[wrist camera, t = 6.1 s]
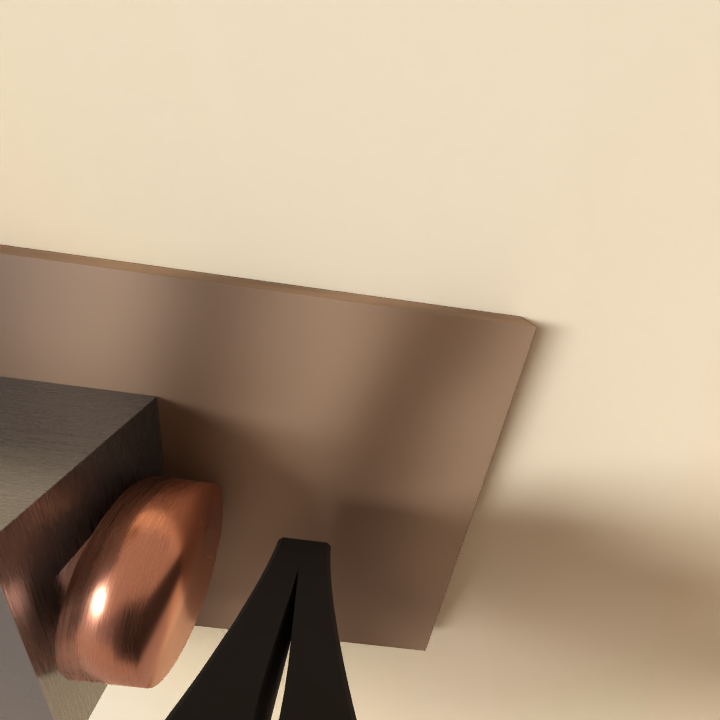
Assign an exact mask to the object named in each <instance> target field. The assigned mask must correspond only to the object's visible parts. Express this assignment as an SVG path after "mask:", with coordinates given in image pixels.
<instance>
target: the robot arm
mask: <svg viewBox="0 0 720 720" xmlns="http://www.w3.org/2000/svg"><path fill="white" fill-rule="evenodd" d="M330 552H331V546H330V545H329V544H328V543H327V542H319V541H310V540H302V539H294V538H285V537H282V538H281V539H279V540H278V542H277V545H276V547H275V549H274V552H273V554H272V556H271V558H270V560H269V562H268V564H267V566H266V568H265V570H264V572H263V573H262V575H261V577H260V579H259V581H258V582H257V584H256V586H255V588H254V590H253V591H252V593H251V595H250V596H249V598H248V599H247V601H246V603H245V604H244V606H243V608H242V609H241V611H240V613H239V614H238V616H237V618H236V619H235V621H234V622H233V624H232V626H231V627H230V629H229V630H228V632H227V633H226V635H225V636H224V638H223V639H222V641H221V642H220V644H219V645H218V647H217V648H216V650H215V651H214V653H213V654H212V656H211V657H210V658H209V660H208V661H207V663H206V664H205V666H204V667H203V669H202V670H201V672H200V673H199V674H198V676H197V677H196V679H195V680H194V681H193V683H192V684H191V685H190V687H189V688H188V690H187V691H186V692H185V694H184V695H183V696H182V698H181V699H180V700H179V702H178V703H177V704H176V706H175V707H174V708H173V710H172V711H171V712H170V714H169V715H168V716H167V718H166V719H165V720H271V717H272V713H273V709H274V705H275V701H276V697H277V693H278V689H279V685H280V681H281V677H282V674H283V670H284V666H285V662H286V658H287V654H288V650H289V646H290V654H289V663H288V670H287V677H286V684H285V691H284V696H283V702H282V707H281V712H280V717H279V720H357V719H356V715H355V711H354V707H353V703H352V699H351V694H350V690H349V686H348V681H347V676H346V672H345V667H344V662H343V657H342V652H341V647H340V641H339V635H338V629H337V623H336V616H335V610H334V602H333V593H332V583H331V567H330ZM290 642H291V645H290Z"/></svg>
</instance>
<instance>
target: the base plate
mask: <svg viewBox="0 0 720 720" xmlns="http://www.w3.org/2000/svg"><path fill="white" fill-rule="evenodd" d="M536 328H537V327H535V326H534V325H532V324H531V323H530V322H528V321H527V320H525V319H524V318H522V317H519V316H512V315H505V314H498V313H490V312H483V311H476V310H469V309H461V308H454V307H447V306H440V305H432V304H425V303H418V302H411V301H404V300H396V299H389V298H382V297H375V296H367V295H360V294H353V293H346V292H338V291H331V290H324V289H317V288H310V287H302V286H295V285H288V284H281V283H273V282H266V281H259V280H252V279H244V278H237V277H230V276H223V275H216V274H208V273H201V272H194V271H187V270H179V269H172V268H165V267H158V266H150V265H143V264H136V263H129V262H122V261H114V260H107V259H100V258H93V257H85V256H78V255H71V254H64V253H56V252H49V251H42V250H35V249H28V248H20V247H13V246H6V245H0V376H3V377H10V378H18V379H26V380H34V381H42V382H50V383H57V384H65V385H73V386H81V387H89V388H97V389H104V390H112V391H120V392H128V393H136V394H144V395H151V396H157V401H158V411H159V420H160V430H161V440H162V449H163V459H164V468H165V477H168V478H176V479H184V480H192V481H201V482H209V483H214V484H216V485H217V486H218V487H219V489H220V491H221V495H222V501H223V518H222V529H221V536H220V542H219V547H218V552H217V557H216V561H215V565H214V569H213V573H212V576H211V580H210V583H209V586H208V590H207V593H206V596H205V599H204V601H203V604H202V607H201V610H200V612H199V615H198V617H197V620H196V622H195V626H204V627H213V628H223V629H230V627H231V626H232V624H233V622H234V621H235V619H236V618H237V616H238V614H239V613H240V611H241V609H242V608H243V606H244V604H245V603H246V601H247V599H248V598H249V596H250V595H251V593H252V591H253V590H254V588H255V586H256V584H257V582H258V581H259V579H260V577H261V575H262V573H263V572H264V570H265V568H266V566H267V564H268V562H269V560H270V558H271V556H272V554H273V552H274V549H275V547H276V545H277V542H278V540H279V539H281V538H282V537H285V538H294V539H302V540H310V541H319V542H327V543H328V544H329V545H330V546H331V552H330V567H331V583H332V593H333V602H334V610H335V616H336V623H337V629H338V635H339V641H341V642H351V643H360V644H369V645H378V646H387V647H396V648H405V649H415V650H424V651H425V650H426V647H427V644H428V642H429V639H430V636H431V633H432V630H433V627H434V624H435V621H436V618H437V615H438V612H439V610H440V607H441V604H442V601H443V598H444V595H445V592H446V589H447V586H448V583H449V581H450V578H451V575H452V572H453V569H454V566H455V563H456V560H457V557H458V554H459V552H460V549H461V546H462V543H463V540H464V537H465V534H466V531H467V528H468V525H469V522H470V520H471V517H472V514H473V511H474V508H475V505H476V502H477V499H478V496H479V493H480V491H481V488H482V485H483V482H484V479H485V476H486V473H487V470H488V467H489V464H490V461H491V459H492V456H493V453H494V450H495V447H496V444H497V441H498V438H499V435H500V432H501V430H502V427H503V424H504V421H505V418H506V415H507V412H508V409H509V406H510V403H511V401H512V398H513V395H514V392H515V389H516V386H517V383H518V380H519V377H520V374H521V371H522V369H523V366H524V363H525V360H526V357H527V354H528V351H529V348H530V345H531V342H532V340H533V337H534V334H535V331H536Z"/></svg>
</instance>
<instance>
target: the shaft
mask: <svg viewBox="0 0 720 720" xmlns="http://www.w3.org/2000/svg"><path fill="white" fill-rule="evenodd" d="M222 518H223V501H222V495H221V491H220V489H219V487H218V486H217V485H216V484H214V483H209V482H201V481H192V480H184V479H176V478H168V477H159V476H150V477H146V478H143V479H141V480H139V481H138V482H136V483H135V484H133V485H132V486H131V487H129V488H128V489H127V490H126V491H125V492H124V493H123V494H122V495H121V496H120V497H119V498H118V499H117V500H116V501H115V503H114V504H113V505H112V506H111V507H110V509H109V510H108V511H107V513H106V514H105V515H104V517H103V518H102V520H101V521H100V522H99V524H98V526H97V527H96V529H95V531H94V532H93V534H92V535H91V537H90V538H89V539H88V540H87V541H86V542H85V544H84V545H83V546H82V547H81V548H80V549H79V551H78V552H77V553H76V554H75V555H74V556H73V558H72V559H71V560H70V561H69V562H68V563H67V564H66V566H65V567H64V568H63V569H62V570H61V571H60V573H59V574H58V575H57V576H56V577H55V578H54V580H53V584H54V588H55V591H56V594H57V597H58V601H59V604H60V607H61V611H60V615H59V619H58V625H57V631H56V642H55V653H56V661H57V666H58V668H59V670H60V672H61V674H62V675H63V676H64V677H65V678H66V679H69V680H73V681H82V682H92V683H101V684H111V685H121V686H130V687H140V688H152V687H154V686H156V685H157V684H158V683H160V682H161V681H162V680H163V679H164V677H165V676H166V675H167V674H168V673H169V671H170V670H171V668H172V667H173V665H174V664H175V662H176V661H177V659H178V657H179V656H180V654H181V652H182V650H183V648H184V646H185V644H186V642H187V640H188V638H189V636H190V634H191V632H192V629H193V627H194V625H195V622H196V620H197V617H198V615H199V612H200V610H201V607H202V604H203V601H204V599H205V596H206V593H207V590H208V586H209V583H210V580H211V576H212V573H213V569H214V565H215V561H216V557H217V552H218V547H219V542H220V536H221V529H222Z"/></svg>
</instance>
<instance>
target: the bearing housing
mask: <svg viewBox="0 0 720 720" xmlns="http://www.w3.org/2000/svg"><path fill="white" fill-rule="evenodd" d="M150 476H159V477H165V468H164V459H163V449H162V440H161V430H160V420H159V411H158V401H157V396H151V395H144V394H136V393H128V392H120V391H112V390H104V389H97V388H89V387H81V386H73V385H65V384H57V383H50V382H42V381H34V380H26V379H18V378H10V377H3V376H0V720H88V719H89V717H90V715H91V713H92V712H93V710H94V708H95V706H96V704H97V703H98V701H99V699H100V697H101V695H102V694H103V692H104V690H105V688H106V686H107V685H108V684H101V683H92V682H82V681H73V680H69V679H66V678H65V677H64V676H63V675H62V674H61V672H60V670H59V668H58V666H57V661H56V653H55V642H56V631H57V625H58V619H59V615H60V611H61V607H60V604H59V601H58V597H57V594H56V591H55V588H54V584H53V580H54V578H55V577H56V576H57V575H58V574H59V573H60V571H61V570H62V569H63V568H64V567H65V566H66V564H67V563H68V562H69V561H70V560H71V559H72V558H73V556H74V555H75V554H76V553H77V552H78V551H79V549H80V548H81V547H82V546H83V545H84V544H85V542H86V541H87V540H88V539H89V538H90V537H91V535H92V534H93V532H94V531H95V529H96V527H97V526H98V524H99V522H100V521H101V520H102V518H103V517H104V515H105V514H106V513H107V511H108V510H109V509H110V507H111V506H112V505H113V504H114V503H115V501H116V500H117V499H118V498H119V497H120V496H121V495H122V494H123V493H124V492H125V491H126V490H127V489H128V488H129V487H131V486H132V485H133V484H135V483H136V482H138V481H139V480H141V479H143V478H146V477H150Z"/></svg>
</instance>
